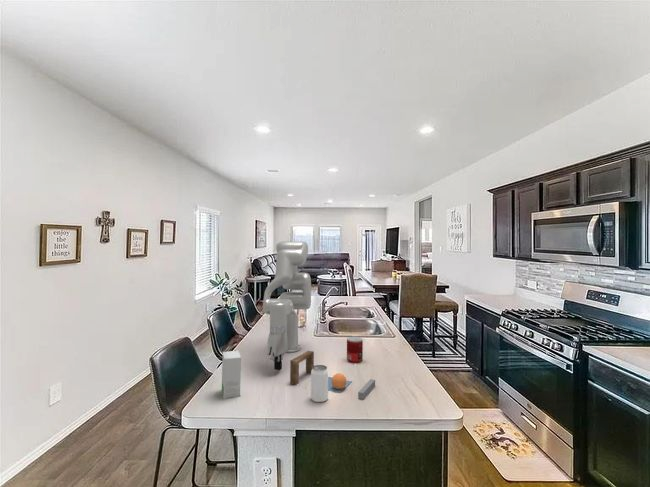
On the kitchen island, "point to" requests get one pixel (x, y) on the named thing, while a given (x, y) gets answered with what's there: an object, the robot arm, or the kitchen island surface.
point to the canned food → (354, 349)
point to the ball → (339, 381)
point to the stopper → (366, 389)
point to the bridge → (295, 366)
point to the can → (319, 383)
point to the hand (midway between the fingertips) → (278, 369)
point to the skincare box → (231, 374)
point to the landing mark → (332, 388)
